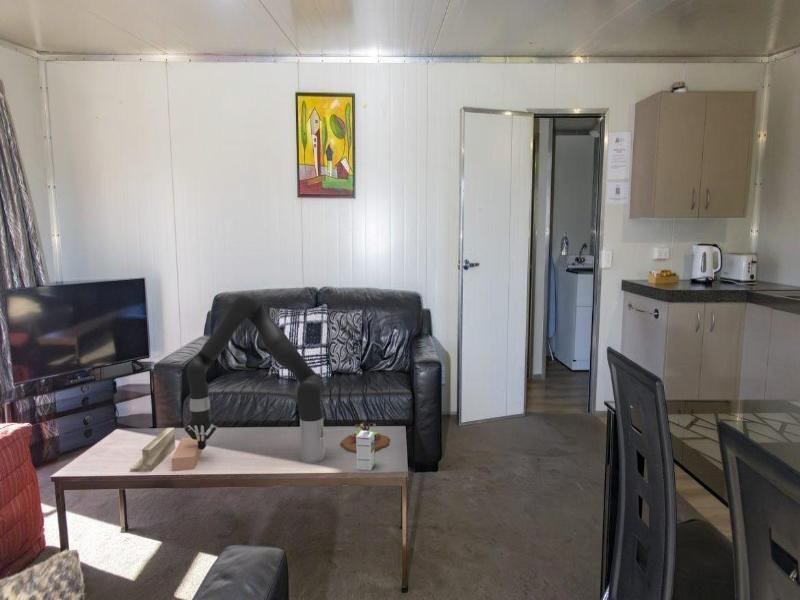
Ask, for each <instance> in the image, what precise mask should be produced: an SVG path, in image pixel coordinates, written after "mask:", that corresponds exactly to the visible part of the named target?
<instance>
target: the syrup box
mask: <svg viewBox="0 0 800 600" xmlns="http://www.w3.org/2000/svg"><path fill="white" fill-rule="evenodd" d="M374 433H375V431H373V430H372V431H360V430H359V433H358V435H357V436H356V447H357V453H356V469H357V470H363V471H372V469H373V468H374V466H375V465H376V463H375V461H376V458H375V457H376V456H375V454H376V453H375V449H374Z"/></svg>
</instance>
